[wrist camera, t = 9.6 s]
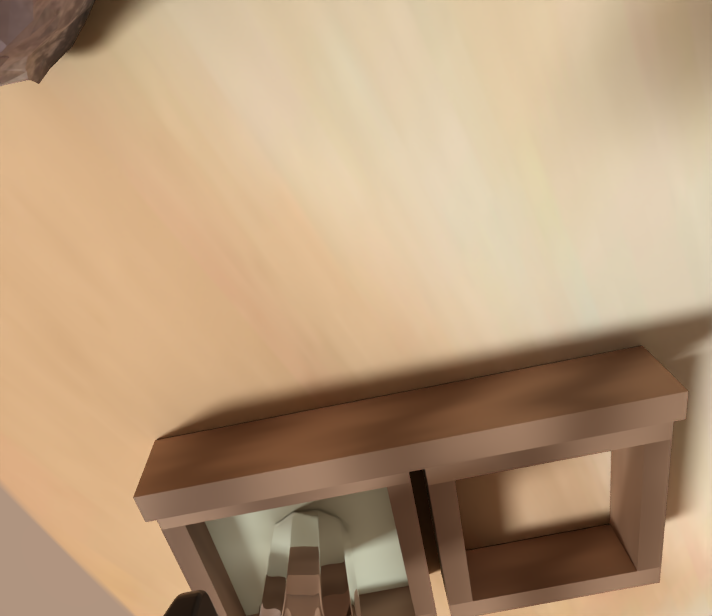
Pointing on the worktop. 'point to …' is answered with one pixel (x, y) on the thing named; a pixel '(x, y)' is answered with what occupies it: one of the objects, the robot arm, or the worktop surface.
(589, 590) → the divided wooden tray
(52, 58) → the geode
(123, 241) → the worktop surface
